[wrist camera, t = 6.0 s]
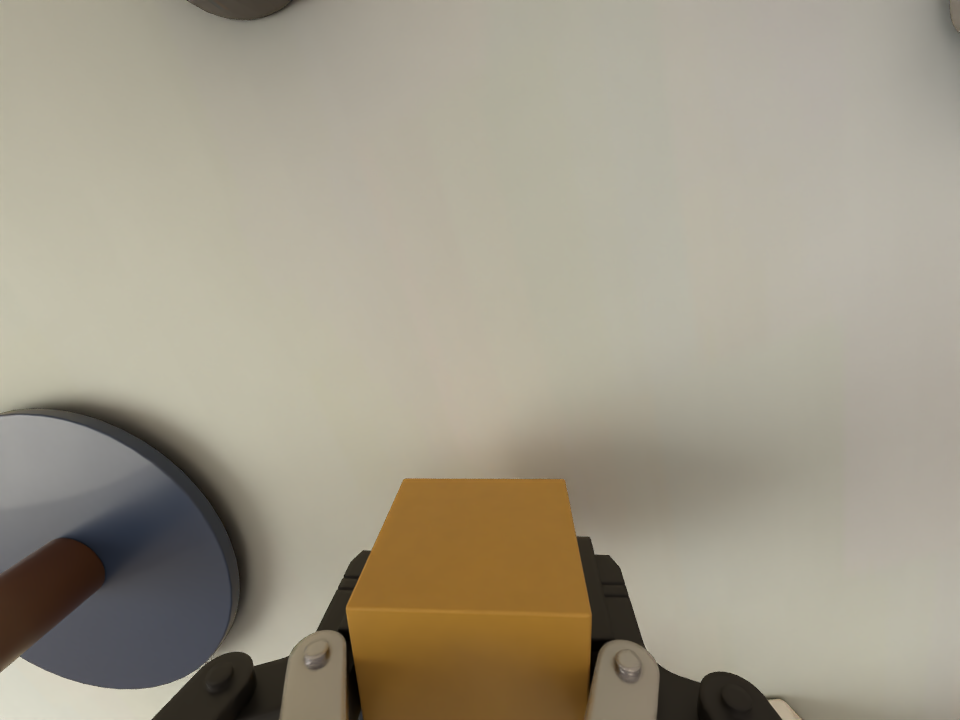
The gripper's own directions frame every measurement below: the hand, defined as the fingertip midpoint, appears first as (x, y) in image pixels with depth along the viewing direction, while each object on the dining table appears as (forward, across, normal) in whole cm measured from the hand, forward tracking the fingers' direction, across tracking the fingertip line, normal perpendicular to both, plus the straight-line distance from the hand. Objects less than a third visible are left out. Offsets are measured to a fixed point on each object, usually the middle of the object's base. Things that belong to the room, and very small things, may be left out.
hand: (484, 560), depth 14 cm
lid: (+3, +18, +3) cm, 18 cm away
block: (+1, 0, 0) cm, 1 cm away
